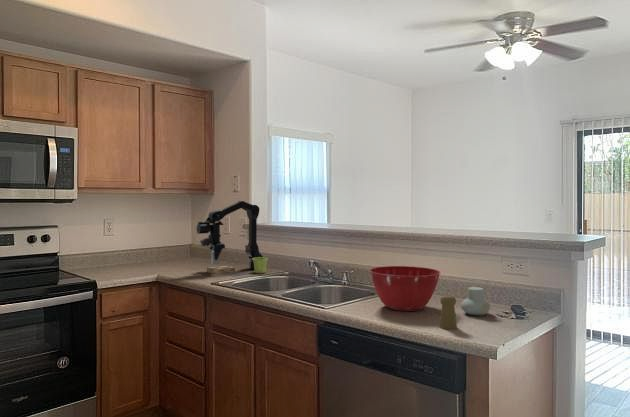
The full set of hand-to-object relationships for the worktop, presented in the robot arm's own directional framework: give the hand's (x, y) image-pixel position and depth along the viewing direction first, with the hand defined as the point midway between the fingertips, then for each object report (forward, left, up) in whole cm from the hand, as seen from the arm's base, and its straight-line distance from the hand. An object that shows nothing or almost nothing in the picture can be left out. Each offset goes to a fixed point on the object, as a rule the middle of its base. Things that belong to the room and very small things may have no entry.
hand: (215, 259), depth 287 cm
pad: (-10, +10, -8) cm, 16 cm away
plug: (0, 0, -3) cm, 3 cm away
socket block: (-3, 0, -8) cm, 9 cm away
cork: (-36, +152, -8) cm, 157 cm away
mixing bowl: (-42, +121, -8) cm, 129 cm away
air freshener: (-59, +143, -8) cm, 155 cm away
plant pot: (-23, +12, -8) cm, 28 cm away
